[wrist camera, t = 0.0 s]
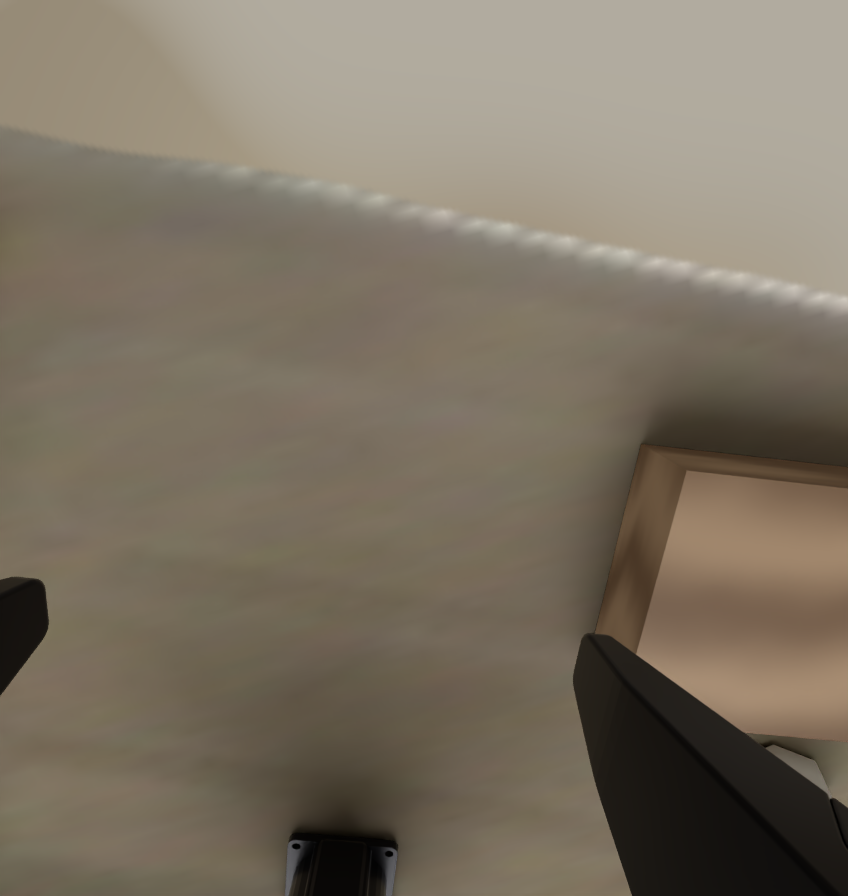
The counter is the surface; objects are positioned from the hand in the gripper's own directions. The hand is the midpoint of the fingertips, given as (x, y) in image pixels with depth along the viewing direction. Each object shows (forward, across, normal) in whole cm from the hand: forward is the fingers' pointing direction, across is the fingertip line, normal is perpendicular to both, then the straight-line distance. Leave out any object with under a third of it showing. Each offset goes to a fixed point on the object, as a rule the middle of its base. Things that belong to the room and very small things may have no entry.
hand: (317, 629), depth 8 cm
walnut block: (+15, -18, +5) cm, 24 cm away
